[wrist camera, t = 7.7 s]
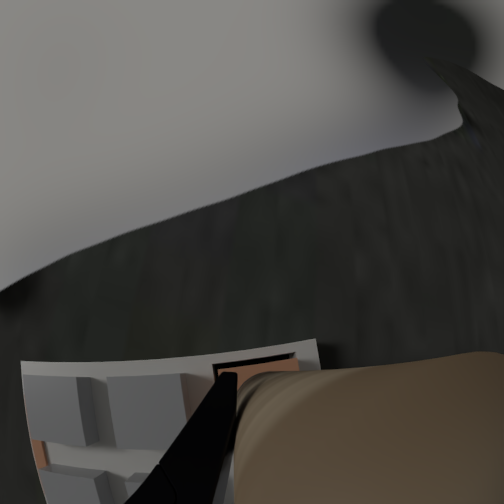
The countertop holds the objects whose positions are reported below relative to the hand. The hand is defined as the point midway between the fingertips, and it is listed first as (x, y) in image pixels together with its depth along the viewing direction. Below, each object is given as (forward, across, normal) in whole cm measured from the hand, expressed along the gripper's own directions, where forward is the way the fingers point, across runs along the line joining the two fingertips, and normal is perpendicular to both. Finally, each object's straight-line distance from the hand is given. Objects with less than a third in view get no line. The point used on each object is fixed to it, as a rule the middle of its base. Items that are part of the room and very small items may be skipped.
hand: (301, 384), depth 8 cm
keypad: (+5, +6, +14) cm, 16 cm away
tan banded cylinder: (+4, 0, +6) cm, 7 cm away
